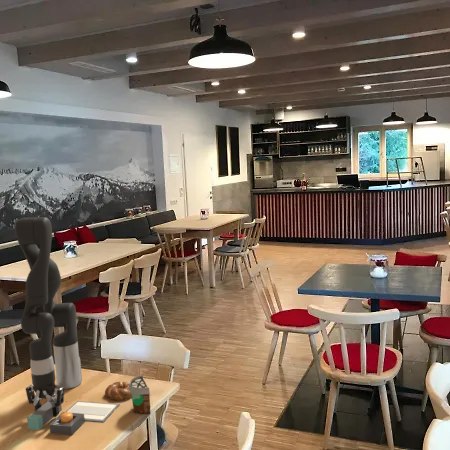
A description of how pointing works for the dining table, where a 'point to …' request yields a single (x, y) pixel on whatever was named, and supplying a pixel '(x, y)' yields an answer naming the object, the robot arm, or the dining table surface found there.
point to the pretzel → (118, 391)
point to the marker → (41, 416)
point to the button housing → (67, 425)
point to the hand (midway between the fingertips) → (47, 415)
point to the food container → (140, 395)
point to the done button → (66, 417)
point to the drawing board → (93, 410)
